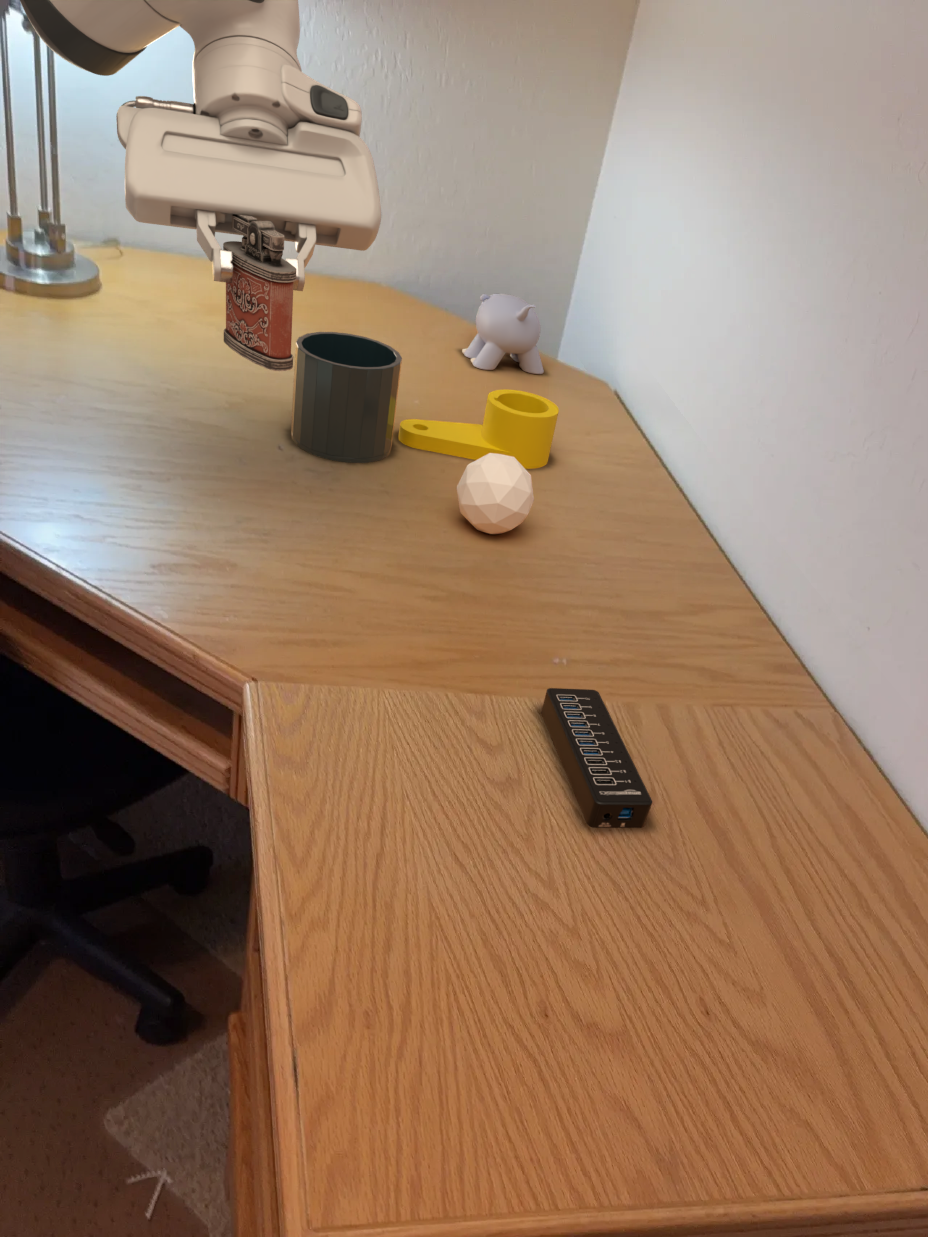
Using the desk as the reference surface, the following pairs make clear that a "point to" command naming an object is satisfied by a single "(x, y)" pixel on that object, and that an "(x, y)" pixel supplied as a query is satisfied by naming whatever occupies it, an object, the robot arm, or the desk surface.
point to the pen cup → (344, 396)
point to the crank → (492, 430)
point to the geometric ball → (495, 493)
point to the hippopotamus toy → (505, 333)
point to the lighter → (259, 295)
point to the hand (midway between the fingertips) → (259, 282)
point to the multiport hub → (595, 759)
